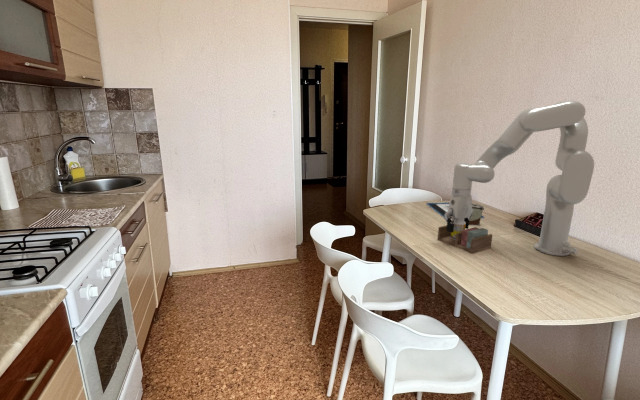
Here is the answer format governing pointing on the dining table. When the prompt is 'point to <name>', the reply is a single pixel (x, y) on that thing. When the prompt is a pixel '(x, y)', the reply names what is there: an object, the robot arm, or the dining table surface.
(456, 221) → the supplement bottle
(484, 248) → the rack
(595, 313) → the dining table surface
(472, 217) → the food container
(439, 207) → the sketchbook
